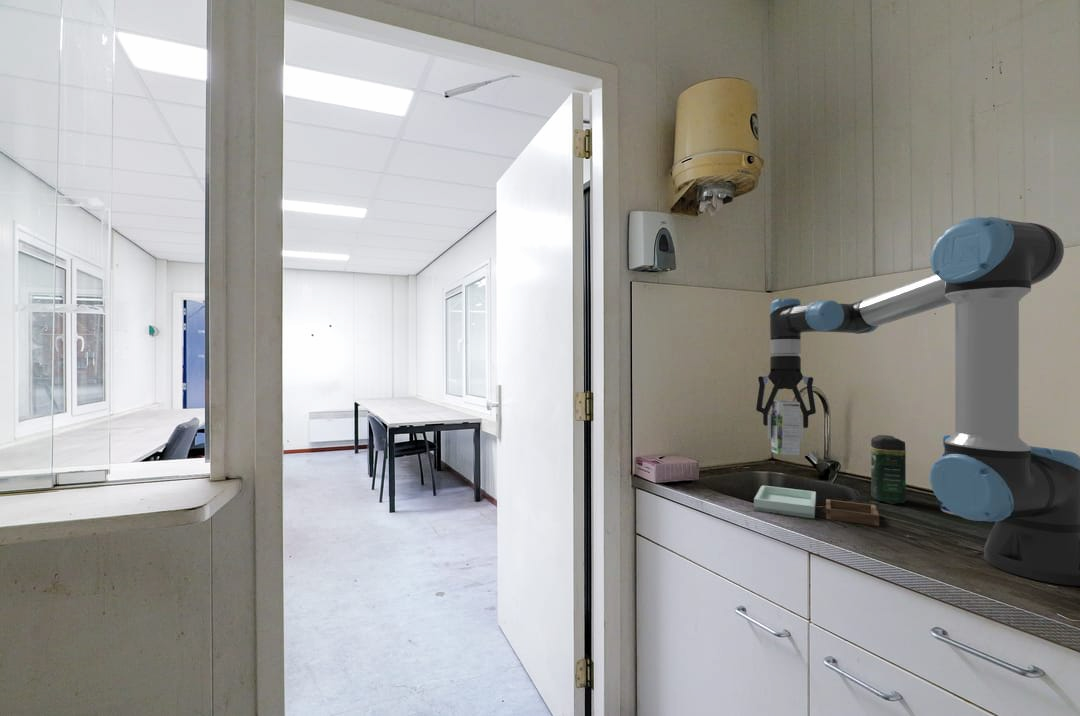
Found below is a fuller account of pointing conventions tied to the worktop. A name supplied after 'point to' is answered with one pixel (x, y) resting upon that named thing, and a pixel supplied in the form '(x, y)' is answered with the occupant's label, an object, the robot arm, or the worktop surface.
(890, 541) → the worktop surface
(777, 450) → the syrup box
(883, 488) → the coffee jar
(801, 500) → the mint tray
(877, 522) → the walnut collar
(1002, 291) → the robot arm
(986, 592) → the worktop surface
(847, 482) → the worktop surface
